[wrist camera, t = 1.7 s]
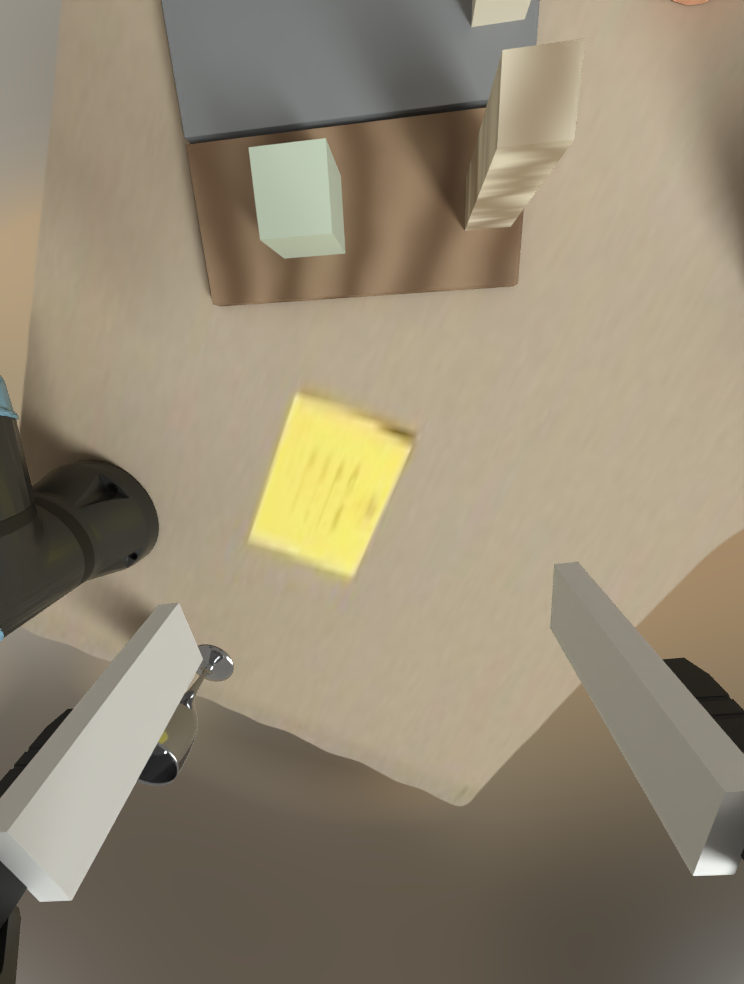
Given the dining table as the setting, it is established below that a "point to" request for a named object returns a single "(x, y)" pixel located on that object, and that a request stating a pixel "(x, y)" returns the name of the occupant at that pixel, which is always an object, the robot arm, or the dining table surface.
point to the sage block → (298, 198)
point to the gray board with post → (334, 60)
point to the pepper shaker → (690, 1)
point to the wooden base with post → (403, 192)
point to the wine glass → (184, 722)
